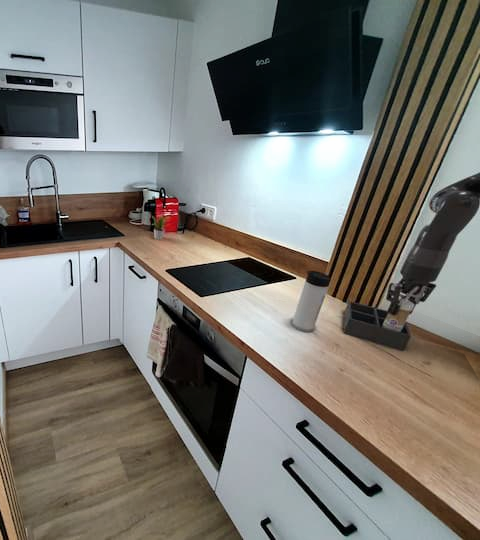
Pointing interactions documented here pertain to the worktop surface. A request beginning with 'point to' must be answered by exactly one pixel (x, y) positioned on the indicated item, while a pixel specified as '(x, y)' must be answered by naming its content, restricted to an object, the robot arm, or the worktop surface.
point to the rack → (373, 326)
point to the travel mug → (311, 301)
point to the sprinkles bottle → (398, 317)
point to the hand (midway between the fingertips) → (398, 313)
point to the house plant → (159, 227)
